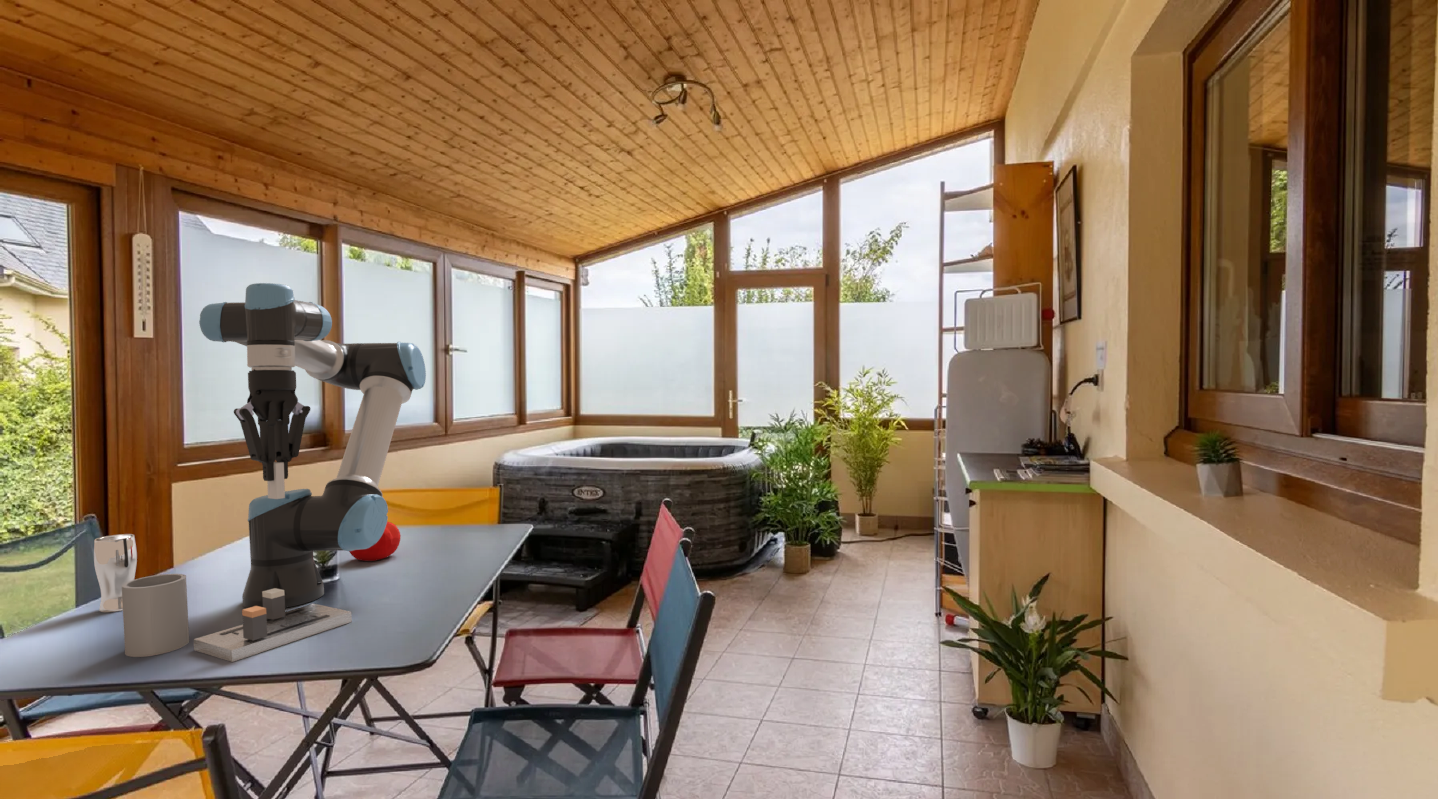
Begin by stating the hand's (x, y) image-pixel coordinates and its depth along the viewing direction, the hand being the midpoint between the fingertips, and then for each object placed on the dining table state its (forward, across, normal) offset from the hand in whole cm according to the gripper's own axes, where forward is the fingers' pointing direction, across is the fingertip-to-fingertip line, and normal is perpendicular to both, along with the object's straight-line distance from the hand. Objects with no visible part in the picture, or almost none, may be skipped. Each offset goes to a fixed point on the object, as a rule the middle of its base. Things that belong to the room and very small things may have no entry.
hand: (276, 497), depth 136 cm
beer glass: (+26, -4, +50) cm, 56 cm away
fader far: (+23, +2, +6) cm, 24 cm away
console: (+26, 0, +2) cm, 26 cm away
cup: (+26, -13, +16) cm, 33 cm away
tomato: (+25, +47, +35) cm, 64 cm away
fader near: (+24, -6, -2) cm, 24 cm away
